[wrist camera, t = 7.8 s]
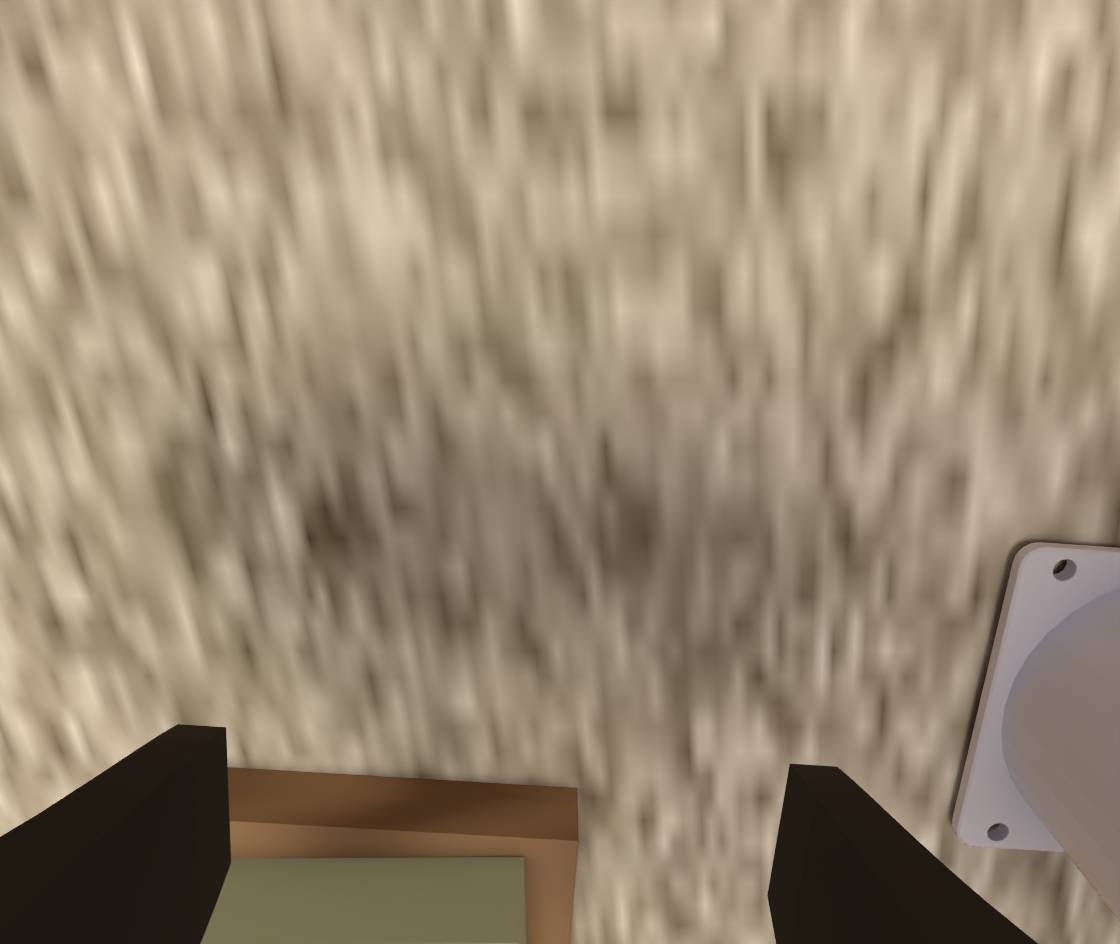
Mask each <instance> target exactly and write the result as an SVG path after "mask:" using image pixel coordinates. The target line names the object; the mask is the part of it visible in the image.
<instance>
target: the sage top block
mask: <svg viewBox="0 0 1120 944" xmlns="http://www.w3.org/2000/svg"><path fill="white" fill-rule="evenodd" d="M200 944H527V932H526V896H525V860H524V857H409V858H236V859H231V865H230V867H229V870H228V873H227V876H226V878H225V881H224V884H223V887H222V889H221V892H220V895H219V898H218V900H217V903H216V906H215V908H214V911H213V913H212V916H211V919H210V921H209V924H208V926H207V929H206V931H205V934H204V936H203V939H202V941H201V943H200Z"/></svg>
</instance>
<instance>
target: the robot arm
mask: <svg viewBox="0 0 1120 944" xmlns="http://www.w3.org/2000/svg"><path fill="white" fill-rule="evenodd" d="M1065 559H1067V565H1066V566H1065V568H1064V570H1062V571H1061V572H1060V573H1057V574H1053V568H1054V566H1055V565H1056V563H1058V562H1059V561H1061V560H1065ZM997 823H1000V825H999V827H997V828H996V829H994V830H988V829H989V828H990V827H991V826H992V825H994V824H997ZM952 828H953V830H954V832H955V833H956V835H957V837H958V838H959V840H960V841H961V842H963V843H964V844H965V845H969V846H973V847H989V848H1005V849H1020V850H1036V851H1052V852H1066V854H1067V855H1068V856H1069V857H1070V859H1071V860H1072V861H1073V862H1074V864H1075V865H1076V866H1077V867H1078V869H1079V870H1080V871H1081V873H1082V874H1083V875H1084V876H1085V878H1086V879H1087V880H1088V881H1089V883H1090V884H1091V885H1092V887H1093V888H1094V889H1095V890H1096V892H1097V893H1098V894H1099V895H1100V897H1101V898H1102V899H1103V901H1104V902H1105V903H1106V904H1107V906H1108V907H1109V908H1110V909H1111V911H1112V912H1113V913H1114V915H1115V916H1116V917H1117V918H1118V920H1119V921H1120V548H1116V547H1102V546H1088V545H1073V544H1059V543H1044V542H1037V543H1030V544H1028V545H1026V546H1024V547H1022V548H1021V550H1020V551H1019V552H1018V553H1017V554H1016V556H1015V558H1014V560H1013V564H1012V568H1011V572H1010V576H1009V581H1008V585H1007V589H1006V593H1005V598H1004V602H1003V606H1002V610H1001V615H1000V619H999V623H998V627H997V631H996V636H995V640H994V644H993V648H992V653H991V657H990V661H989V665H988V670H987V674H986V678H985V682H984V687H983V691H982V695H981V699H980V704H979V708H978V712H977V716H976V721H975V725H974V729H973V733H972V738H971V742H970V746H969V750H968V755H967V759H966V763H965V767H964V771H963V776H962V780H961V784H960V788H959V793H958V797H957V801H956V805H955V810H954V814H953V818H952ZM230 865H231V843H230V818H229V793H228V768H227V744H226V727H210V726H195V725H179V724H178V725H176V726H174V727H172V728H171V729H169V730H167V731H166V732H164V733H162V734H161V735H159V736H157V737H156V738H154V739H153V740H151V741H150V742H148V743H147V744H145V745H143V746H142V747H140V748H139V749H137V750H136V751H134V752H133V753H131V754H130V755H128V756H127V757H125V758H124V759H122V760H121V761H119V762H118V763H116V764H115V765H113V766H112V767H110V768H109V769H107V770H106V771H104V772H103V773H101V774H100V775H98V776H96V777H95V778H93V779H92V780H90V781H89V782H87V783H86V784H84V785H83V786H81V787H80V788H78V789H76V790H75V791H73V792H72V793H70V794H69V795H67V796H66V797H64V798H63V799H61V800H59V801H58V802H56V803H55V804H53V805H52V806H50V807H49V808H47V809H46V810H44V811H42V812H41V813H39V814H38V815H36V816H34V817H33V818H31V819H30V820H28V821H26V822H24V823H23V824H21V825H19V826H18V827H16V828H14V829H13V830H11V831H9V832H8V833H6V834H4V835H3V836H1V837H0V944H200V943H201V941H202V939H203V936H204V934H205V931H206V929H207V926H208V924H209V921H210V919H211V916H212V913H213V911H214V908H215V906H216V903H217V900H218V898H219V895H220V892H221V889H222V887H223V884H224V881H225V878H226V876H227V873H228V870H229V867H230ZM768 900H769V906H770V911H771V917H772V922H773V928H774V933H775V939H776V944H1038V943H1036V942H1035V941H1034V940H1033V939H1031V938H1030V937H1029V936H1028V935H1026V934H1025V933H1024V932H1023V931H1022V930H1020V929H1019V928H1018V927H1017V926H1015V925H1014V924H1013V923H1012V922H1010V921H1009V920H1008V919H1007V918H1006V917H1004V916H1003V915H1002V914H1001V913H999V912H998V911H997V910H996V909H995V908H993V907H992V906H991V905H990V904H988V903H987V902H986V901H985V900H984V899H983V898H981V897H980V896H979V895H978V894H977V893H976V892H974V891H973V890H972V889H971V888H970V887H969V886H967V885H966V884H965V883H964V882H963V881H962V880H961V879H959V878H958V877H957V876H956V875H955V874H954V873H953V872H952V871H950V870H949V869H948V868H947V867H946V866H945V865H944V864H943V863H941V862H940V861H939V860H938V859H937V858H936V857H935V856H934V855H933V854H932V853H930V852H929V851H928V850H927V849H926V848H925V847H924V846H923V845H922V844H921V843H920V842H918V841H917V840H916V839H915V838H914V837H913V836H912V835H911V834H910V833H909V832H908V831H907V830H906V829H904V828H903V827H902V826H901V825H900V824H899V823H898V822H897V821H896V820H895V819H894V818H893V817H892V816H891V815H890V814H888V813H887V812H886V811H885V810H884V809H883V808H882V807H881V806H880V805H879V804H878V803H877V802H876V801H875V800H874V799H872V798H871V797H870V796H869V795H868V794H867V793H866V792H865V791H864V790H863V789H862V788H861V787H860V786H859V785H857V784H856V783H855V782H854V781H853V780H852V779H851V778H850V777H849V776H847V775H846V774H845V773H844V772H843V771H842V770H840V769H839V768H838V767H832V766H816V765H801V764H790V766H789V772H788V778H787V784H786V790H785V796H784V802H783V808H782V813H781V819H780V825H779V831H778V837H777V843H776V849H775V855H774V860H773V866H772V872H771V878H770V884H769V890H768Z"/></svg>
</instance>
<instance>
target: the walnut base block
mask: <svg viewBox="0 0 1120 944" xmlns="http://www.w3.org/2000/svg"><path fill="white" fill-rule="evenodd" d="M227 768H228V793H229V818H230V843H231V859H236V858H409V857H524V860H525V896H526V932H527V944H569V943H570V931H571V920H572V909H573V897H574V886H575V875H576V864H577V852H578V806H577V788H565V787H548V786H531V785H515V784H498V783H481V782H464V781H448V780H431V779H414V778H397V777H380V776H364V775H347V774H330V773H313V772H297V771H280V770H263V769H246V768H230V767H227Z"/></svg>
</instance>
